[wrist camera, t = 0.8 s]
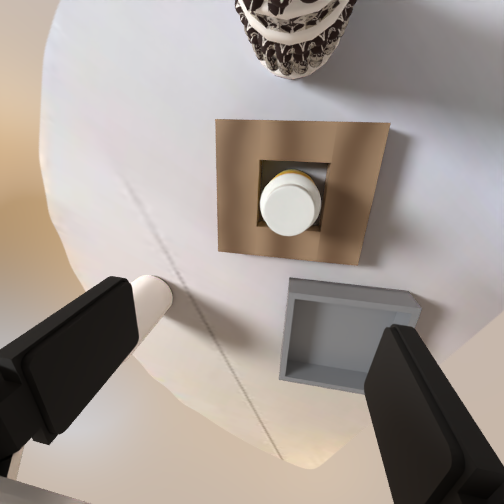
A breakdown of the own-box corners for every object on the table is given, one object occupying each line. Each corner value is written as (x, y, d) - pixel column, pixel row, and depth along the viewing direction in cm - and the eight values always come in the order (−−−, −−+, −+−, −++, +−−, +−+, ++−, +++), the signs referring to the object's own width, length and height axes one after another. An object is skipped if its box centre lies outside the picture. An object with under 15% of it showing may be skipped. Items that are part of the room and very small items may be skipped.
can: (125, 283, 37) (53, 339, 26) (156, 266, 35) (91, 320, 24) (151, 316, 38) (94, 381, 27) (182, 301, 36) (132, 367, 25)
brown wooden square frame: (381, 125, 24) (390, 122, 21) (352, 256, 29) (357, 265, 27) (222, 121, 26) (215, 119, 24) (223, 244, 31) (218, 251, 29)
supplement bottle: (318, 211, 28) (328, 239, 19) (273, 220, 29) (262, 250, 20) (312, 162, 26) (319, 169, 17) (263, 174, 27) (247, 185, 18)
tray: (408, 290, 29) (422, 308, 26) (379, 375, 35) (388, 398, 32) (289, 277, 32) (288, 292, 28) (280, 359, 37) (278, 379, 34)
